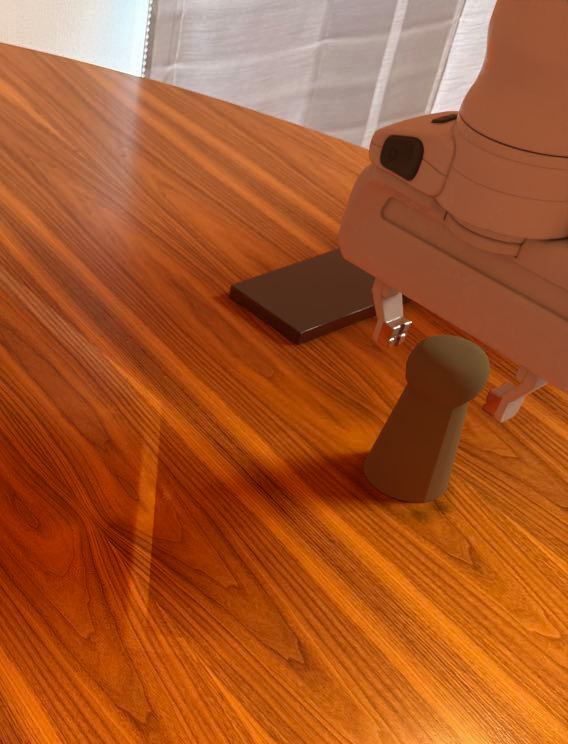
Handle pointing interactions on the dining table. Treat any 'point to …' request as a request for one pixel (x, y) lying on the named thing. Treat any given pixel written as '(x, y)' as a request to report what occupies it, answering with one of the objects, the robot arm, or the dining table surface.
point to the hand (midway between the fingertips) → (440, 376)
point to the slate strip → (310, 296)
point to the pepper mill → (427, 419)
